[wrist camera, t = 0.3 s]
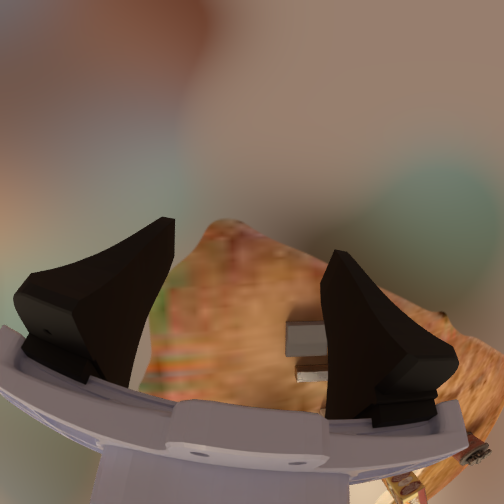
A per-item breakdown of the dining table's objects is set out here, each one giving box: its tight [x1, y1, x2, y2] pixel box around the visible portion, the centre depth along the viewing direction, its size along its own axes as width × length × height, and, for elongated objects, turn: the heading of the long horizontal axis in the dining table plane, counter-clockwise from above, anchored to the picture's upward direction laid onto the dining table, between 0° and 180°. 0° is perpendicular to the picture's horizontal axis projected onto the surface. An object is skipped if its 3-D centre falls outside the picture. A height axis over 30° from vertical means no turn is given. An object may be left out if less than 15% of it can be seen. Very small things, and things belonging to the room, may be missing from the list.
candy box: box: [382, 471, 428, 504], centre depth 27 cm, size 9×4×15 cm, turn 25°
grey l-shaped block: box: [295, 364, 328, 382], centre depth 36 cm, size 8×7×4 cm
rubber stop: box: [285, 321, 327, 357], centre depth 37 cm, size 5×6×4 cm
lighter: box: [452, 432, 492, 466], centre depth 29 cm, size 8×3×10 cm, turn 94°
